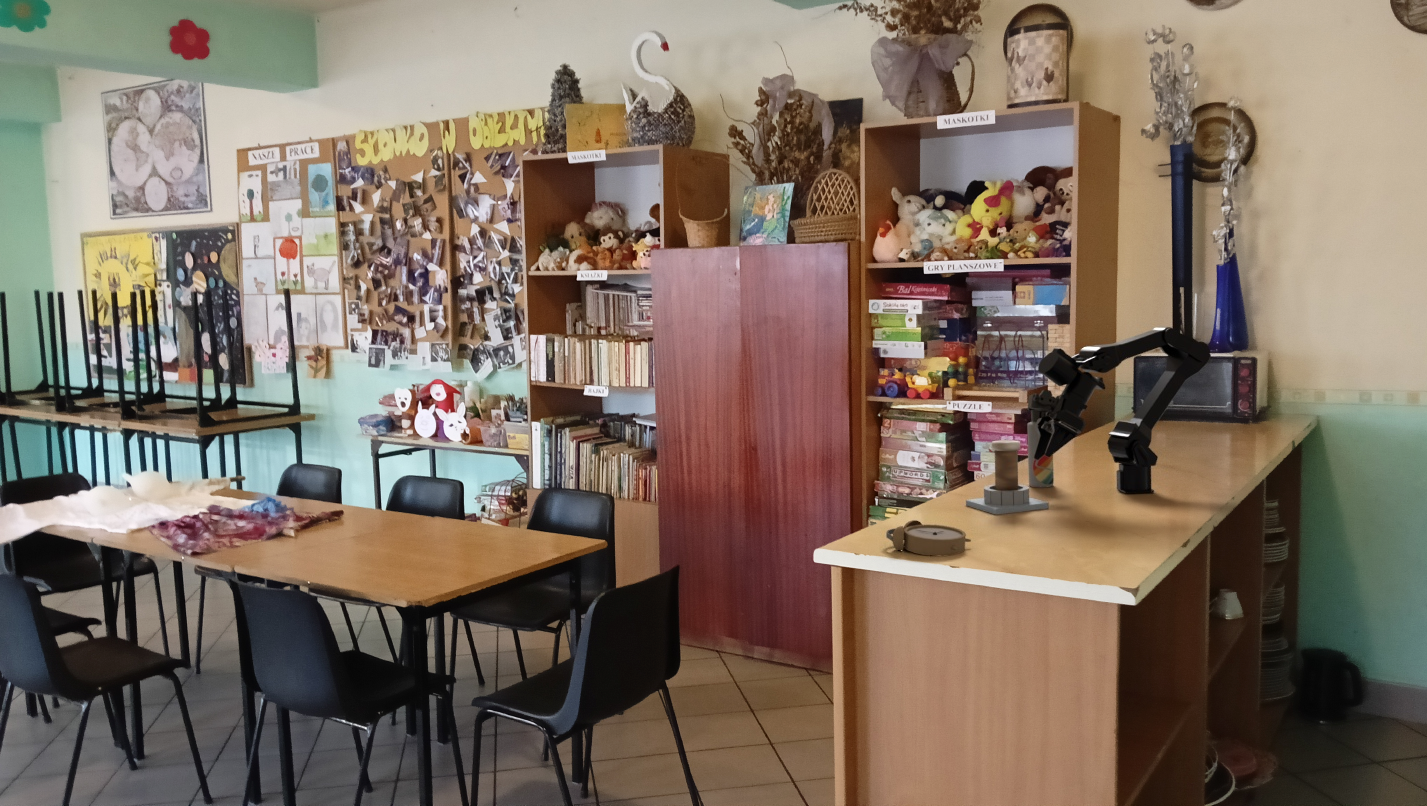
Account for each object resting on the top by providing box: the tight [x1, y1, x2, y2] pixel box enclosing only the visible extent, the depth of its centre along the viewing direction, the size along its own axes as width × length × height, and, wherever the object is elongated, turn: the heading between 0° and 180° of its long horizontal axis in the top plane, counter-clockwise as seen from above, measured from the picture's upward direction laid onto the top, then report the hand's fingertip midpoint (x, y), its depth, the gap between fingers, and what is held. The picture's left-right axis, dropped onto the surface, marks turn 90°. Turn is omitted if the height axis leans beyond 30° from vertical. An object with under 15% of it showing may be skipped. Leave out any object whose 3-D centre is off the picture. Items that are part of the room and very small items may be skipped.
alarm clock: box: [885, 519, 972, 557], centre depth 199 cm, size 11×5×15 cm
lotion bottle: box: [1027, 410, 1055, 488], centre depth 255 cm, size 6×6×20 cm
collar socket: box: [965, 483, 1050, 516], centre depth 233 cm, size 13×12×4 cm
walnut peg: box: [991, 439, 1021, 491], centre depth 232 cm, size 6×6×13 cm
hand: (1041, 457), depth 235 cm, fingers open, 9 cm apart
